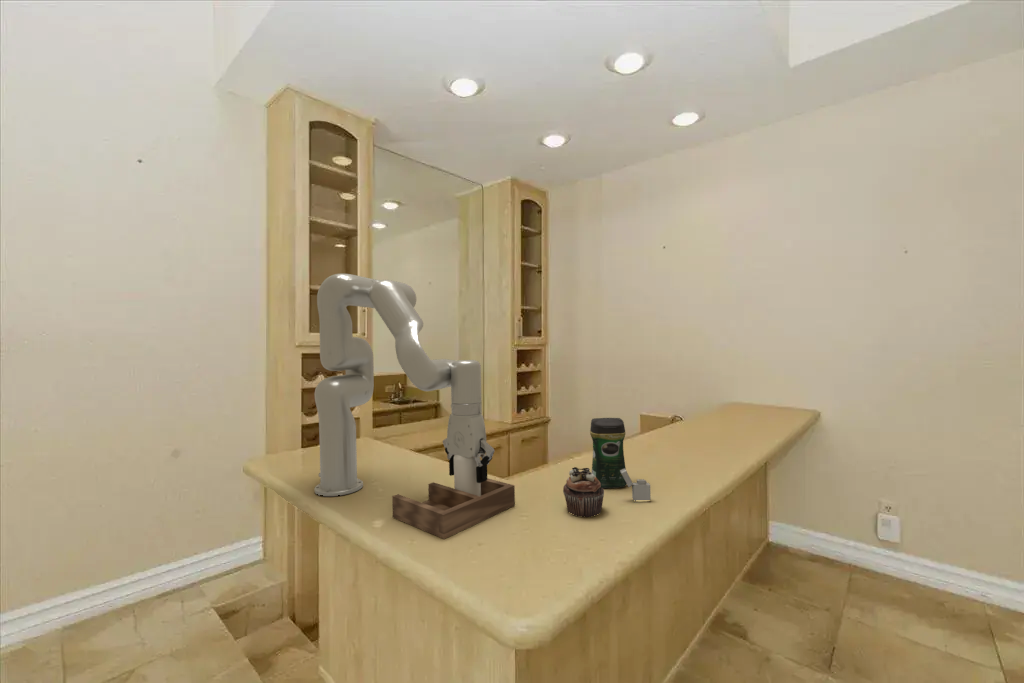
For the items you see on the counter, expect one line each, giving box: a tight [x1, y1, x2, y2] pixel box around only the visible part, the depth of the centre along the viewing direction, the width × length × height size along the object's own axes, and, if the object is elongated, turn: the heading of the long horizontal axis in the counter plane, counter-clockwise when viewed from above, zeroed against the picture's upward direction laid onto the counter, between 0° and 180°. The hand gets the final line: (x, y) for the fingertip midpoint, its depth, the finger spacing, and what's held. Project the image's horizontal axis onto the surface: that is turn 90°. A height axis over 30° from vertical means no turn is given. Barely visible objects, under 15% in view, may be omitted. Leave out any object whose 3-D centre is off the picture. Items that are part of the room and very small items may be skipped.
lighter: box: [620, 468, 652, 501], centre depth 109 cm, size 7×2×8 cm, turn 87°
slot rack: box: [391, 477, 516, 540], centre depth 104 cm, size 18×23×5 cm
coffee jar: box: [589, 417, 628, 489], centre depth 121 cm, size 10×8×19 cm
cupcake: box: [562, 466, 605, 518], centre depth 103 cm, size 10×10×10 cm
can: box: [453, 455, 481, 496], centre depth 109 cm, size 6×6×12 cm
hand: (468, 477), depth 109 cm, fingers open, 9 cm apart
